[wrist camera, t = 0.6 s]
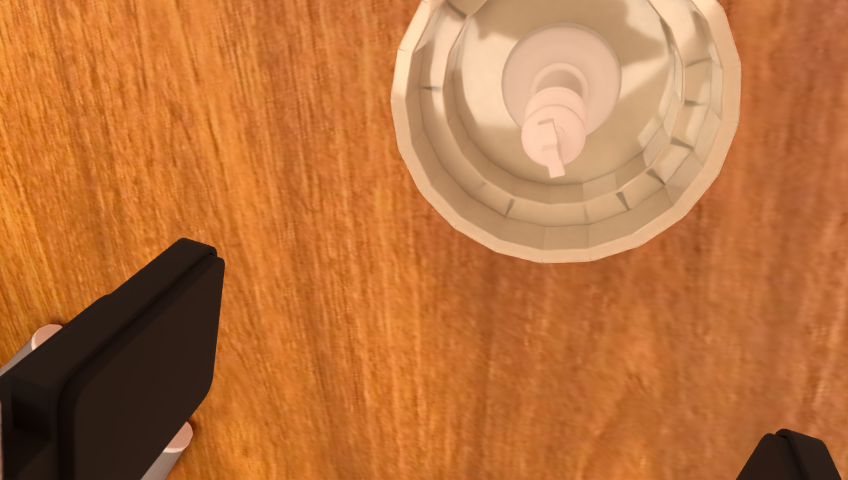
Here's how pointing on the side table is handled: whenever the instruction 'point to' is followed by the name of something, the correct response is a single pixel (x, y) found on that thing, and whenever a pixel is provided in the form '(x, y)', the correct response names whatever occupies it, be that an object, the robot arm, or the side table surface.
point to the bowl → (604, 148)
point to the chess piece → (560, 90)
